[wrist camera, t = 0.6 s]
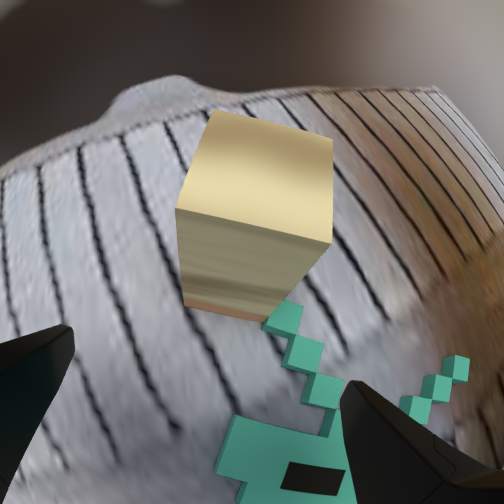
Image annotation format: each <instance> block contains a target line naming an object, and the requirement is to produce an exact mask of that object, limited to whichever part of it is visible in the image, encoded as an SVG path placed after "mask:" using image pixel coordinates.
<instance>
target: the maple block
mask: <svg viewBox="0 0 504 504" xmlns="http://www.w3.org/2000/svg"><path fill="white" fill-rule="evenodd" d="M175 216H176V229H177V241H178V252H179V262H180V272H181V281H182V290H183V298H184V306H187V307H191V308H195V309H200V310H204V311H209V312H213V313H218V314H222V315H227V316H232V317H236V318H241V319H246V320H251V321H256V322H261V323H263V322H264V321H265V320H266V319H267V318H268V317H269V316H270V315H271V314H272V312H273V311H274V310H275V309H276V308H277V307H278V306H279V305H280V303H281V302H282V301H283V300H284V299H285V298H286V297H287V295H288V294H289V293H290V292H291V291H292V290H293V289H294V287H295V286H296V285H297V284H298V283H299V282H300V281H301V279H302V278H303V277H304V276H305V275H306V274H307V272H308V271H309V270H310V269H311V268H312V267H313V265H314V264H315V263H316V262H317V261H318V259H319V258H320V257H321V256H322V255H323V254H324V252H325V251H326V250H327V249H328V248H329V246H330V245H331V244H332V219H333V139H330V138H327V137H324V136H321V135H317V134H314V133H310V132H307V131H303V130H300V129H296V128H292V127H289V126H285V125H281V124H277V123H273V122H269V121H265V120H261V119H257V118H252V117H248V116H243V115H238V114H234V113H229V112H224V111H219V110H213V112H212V114H211V116H210V119H209V121H208V123H207V126H206V128H205V130H204V133H203V135H202V138H201V140H200V143H199V145H198V148H197V150H196V153H195V155H194V158H193V160H192V163H191V165H190V168H189V171H188V173H187V176H186V178H185V181H184V184H183V187H182V189H181V192H180V195H179V197H178V200H177V203H176V206H175Z"/></svg>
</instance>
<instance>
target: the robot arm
mask: <svg viewBox="0 0 504 504" xmlns="http://www.w3.org/2000/svg"><path fill="white" fill-rule="evenodd" d="M74 352H75V344H74V332H73V329H72V327H70V326H67V325H64V324H59V325H56V326H53V327H50V328H47V329H44V330H41V331H38V332H35V333H32V334H28V335H25V336H22V337H19V338H16V339H13V340H10V341H7V342H3V343H0V504H2V503H3V501H4V498H5V496H6V493H7V491H8V487H9V486H10V484H11V481H12V479H13V477H14V475H15V473H16V470H17V468H18V466H19V464H20V462H21V460H22V458H23V456H24V454H25V452H26V450H27V448H28V446H29V444H30V442H31V440H32V438H33V436H34V434H35V432H36V430H37V428H38V426H39V424H40V422H41V421H42V419H43V417H44V415H45V413H46V411H47V409H48V408H49V406H50V404H51V402H52V401H53V399H54V397H55V395H56V393H57V391H58V390H59V387H60V385H61V383H62V380H63V378H64V376H65V374H66V371H67V369H68V367H69V364H70V362H71V360H72V358H73V356H74ZM340 413H341V422H342V431H343V439H344V445H345V450H346V454H347V459H348V463H349V468H350V472H351V477H352V482H353V486H354V491H355V496H356V501H357V504H504V470H497V469H493V468H490V467H487V466H485V465H484V464H482V463H480V462H478V461H477V460H475V459H473V458H471V457H469V456H468V455H466V454H464V453H462V452H461V451H459V450H457V449H456V448H454V447H453V446H451V445H449V444H448V443H446V442H445V441H444V440H442V439H441V438H439V437H438V436H436V435H435V434H433V433H432V432H431V431H429V430H428V429H427V428H425V427H424V426H422V425H421V424H420V423H418V422H417V421H415V420H414V419H413V418H411V417H410V416H408V415H407V414H406V413H404V412H403V411H402V410H400V409H399V408H398V407H396V406H395V405H393V404H392V403H391V402H389V401H388V400H387V399H385V398H384V397H383V396H381V395H380V394H379V393H377V392H376V391H375V390H373V389H372V388H371V387H369V386H368V385H367V384H365V383H364V382H363V381H357V380H351V381H350V382H349V383H348V384H347V386H346V388H345V390H344V392H343V394H342V396H341V399H340Z"/></svg>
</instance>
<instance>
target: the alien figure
mask: <svg viewBox="0 0 504 504" xmlns="http://www.w3.org/2000/svg"><path fill="white" fill-rule="evenodd" d="M303 307H304V306H301V305H298V304H295V303H293V302H290V301H287V300H283V301H282V302H281V303H280V305H279V306H278V307H277V308H276V309H275V310H274V311H273V312H272V314H271V315H270V316H269V317H268V318H267V319H266V320H265V321H264V324H263V327H262V330H264V331H266V332H269V333H272V334H275V335H278V336H281V337H284V338H288V339H289V341H288V345H287V348H286V352H285V355H284V358H283V362H282V365H281V367H284V368H287V369H291V370H294V371H298V372H301V373H304V374H308V378H307V381H306V385H305V388H304V392H303V395H302V399H301V403H305V404H309V405H313V406H317V407H322V408H326V409H327V410H326V414H325V417H324V421H323V424H322V427H321V431H320V434H319V436H318V435H313V434H308V433H304V432H299V431H295V430H291V429H286V428H282V427H278V426H274V425H271V424H267V423H263V422H259V421H256V420H252V419H249V418H245V417H242V416H239V415H236V414H233V417H232V420H231V423H230V426H229V429H228V431H227V434H226V437H225V440H224V443H223V446H222V448H221V451H220V454H219V457H218V459H217V462H216V465H215V468H214V469H215V473H216V474H218V475H222V476H225V477H229V478H233V479H237V480H241V481H242V484H241V487H240V489H239V492H238V495H237V497H236V500H235V502H236V504H357V501H356V496H355V491H354V486H353V482H352V477H351V472H350V468H349V463H348V459H347V454H346V450H345V445H344V439H343V431H342V422H341V413H340V410H338V409H337V406H338V402H339V398H340V394H341V390H342V387H343V383H344V380H342V379H338V378H334V377H330V376H327V375H323V374H319V373H317V370H318V366H319V362H320V358H321V355H322V351H323V347H324V343H321V342H317V341H314V340H311V339H308V338H305V337H302V336H299V335H296V333H297V329H298V326H299V322H300V318H301V315H302V311H303ZM469 361H470V359H468V358H464V357H461V356H457V355H453V356H450V357H446V358H443V364H442V372H441V376H440V375H431V376H426V377H424V379H423V385H422V391H421V396H420V397H416V396H407V397H401V400H400V405H399V409H400V410H402V411H403V412H404V413H406V414H407V415H408V416H410V417H411V418H413V419H414V420H415V421H417V422H418V423H420V424H421V425H427V422H428V417H429V413H430V408H431V403H436V404H437V403H447V402H449V399H450V392H451V386H452V383H453V384H458V383H463V382H467V380H468V371H469Z"/></svg>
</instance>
